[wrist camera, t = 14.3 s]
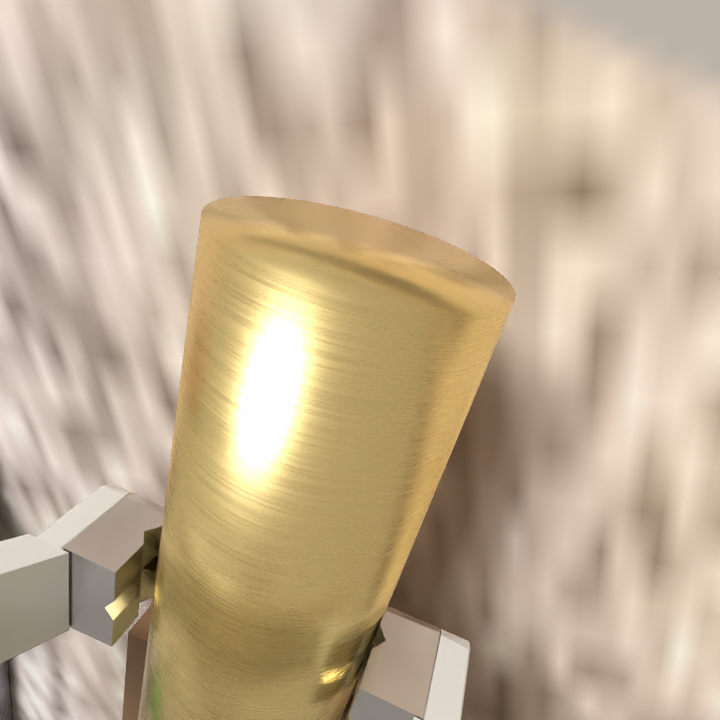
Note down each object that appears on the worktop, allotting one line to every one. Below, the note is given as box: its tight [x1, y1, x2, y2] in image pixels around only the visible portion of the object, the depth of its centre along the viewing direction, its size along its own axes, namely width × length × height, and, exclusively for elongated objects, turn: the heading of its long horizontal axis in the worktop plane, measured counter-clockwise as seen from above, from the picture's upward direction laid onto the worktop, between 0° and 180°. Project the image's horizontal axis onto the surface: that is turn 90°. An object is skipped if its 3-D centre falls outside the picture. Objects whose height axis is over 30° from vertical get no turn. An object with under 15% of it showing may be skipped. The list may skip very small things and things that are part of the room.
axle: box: [138, 196, 515, 720], centre depth 10 cm, size 16×4×4 cm, turn 164°
